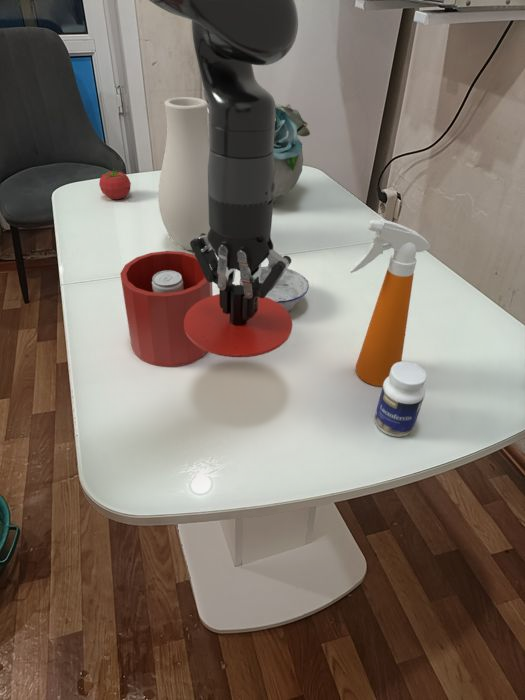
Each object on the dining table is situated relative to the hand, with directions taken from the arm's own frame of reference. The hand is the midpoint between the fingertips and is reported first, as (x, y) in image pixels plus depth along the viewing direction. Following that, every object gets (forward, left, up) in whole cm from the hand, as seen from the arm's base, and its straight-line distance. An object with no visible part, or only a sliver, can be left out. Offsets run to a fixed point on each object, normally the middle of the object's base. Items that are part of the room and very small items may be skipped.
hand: (238, 313), depth 69 cm
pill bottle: (+5, -23, -15) cm, 28 cm away
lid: (0, 0, -2) cm, 2 cm away
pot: (+6, +16, -15) cm, 22 cm away
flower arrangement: (+70, +31, -15) cm, 78 cm away
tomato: (+51, +64, -15) cm, 83 cm away
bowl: (+25, +6, -15) cm, 30 cm away
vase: (+38, +32, -15) cm, 52 cm away
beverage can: (+6, +16, -14) cm, 22 cm away
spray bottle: (+14, -16, -15) cm, 26 cm away
